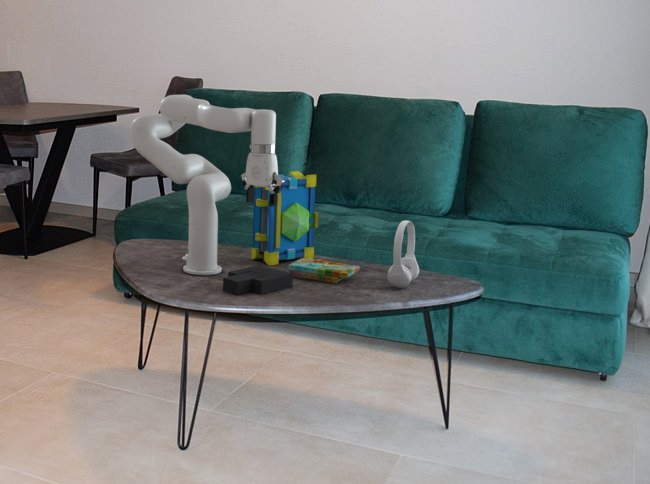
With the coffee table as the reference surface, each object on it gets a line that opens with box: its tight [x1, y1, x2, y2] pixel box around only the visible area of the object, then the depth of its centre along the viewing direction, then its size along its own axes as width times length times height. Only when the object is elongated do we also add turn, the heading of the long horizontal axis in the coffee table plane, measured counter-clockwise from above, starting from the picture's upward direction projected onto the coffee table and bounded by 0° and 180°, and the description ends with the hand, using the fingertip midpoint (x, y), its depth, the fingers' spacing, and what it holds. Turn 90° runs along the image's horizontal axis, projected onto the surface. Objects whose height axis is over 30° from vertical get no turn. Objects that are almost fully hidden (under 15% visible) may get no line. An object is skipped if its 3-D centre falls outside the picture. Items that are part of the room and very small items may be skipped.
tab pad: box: [222, 272, 265, 296], centre depth 246 cm, size 12×6×4 cm, turn 132°
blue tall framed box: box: [250, 170, 320, 267], centre depth 285 cm, size 14×23×30 cm, turn 122°
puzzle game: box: [287, 257, 361, 284], centre depth 262 cm, size 12×5×20 cm
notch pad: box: [227, 264, 294, 295], centre depth 251 cm, size 14×14×4 cm
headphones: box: [386, 220, 420, 289], centre depth 254 cm, size 7×18×20 cm, turn 151°
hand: (261, 204), depth 255 cm, fingers open, 9 cm apart
